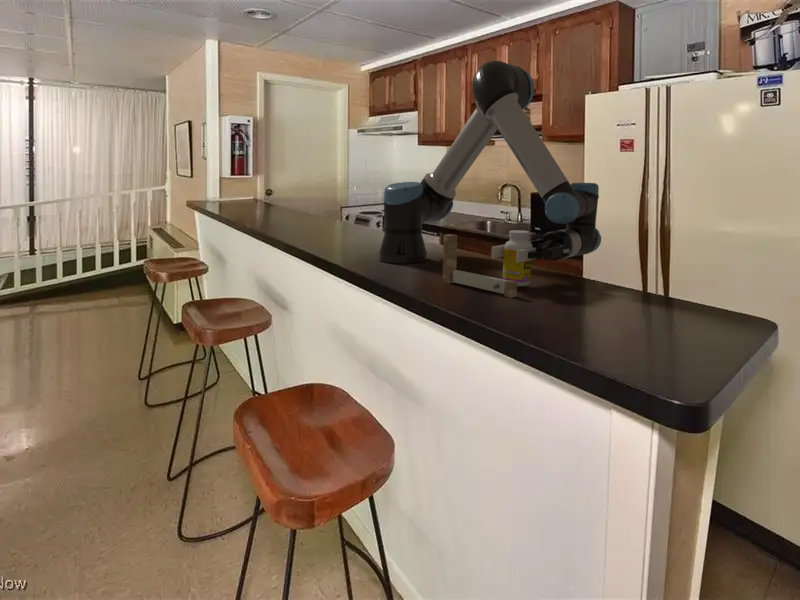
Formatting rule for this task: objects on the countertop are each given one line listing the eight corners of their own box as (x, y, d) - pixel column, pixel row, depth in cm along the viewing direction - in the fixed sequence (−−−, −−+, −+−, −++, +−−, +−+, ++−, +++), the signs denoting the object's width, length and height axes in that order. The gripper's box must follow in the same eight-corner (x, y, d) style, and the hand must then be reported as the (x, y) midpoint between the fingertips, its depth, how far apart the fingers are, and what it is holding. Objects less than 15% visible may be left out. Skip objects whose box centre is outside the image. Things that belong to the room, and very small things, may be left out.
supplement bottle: (524, 288, 126) (528, 233, 123) (498, 284, 130) (501, 231, 126) (533, 282, 132) (537, 230, 129) (508, 279, 135) (510, 228, 132)
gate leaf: (450, 282, 134) (450, 270, 133) (456, 281, 135) (456, 269, 135) (501, 294, 122) (502, 281, 121) (507, 293, 124) (508, 280, 123)
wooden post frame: (442, 281, 136) (443, 235, 133) (449, 280, 138) (450, 234, 135) (510, 297, 121) (513, 245, 118) (516, 296, 122) (520, 244, 119)
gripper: (592, 264, 134) (539, 276, 119) (527, 253, 148) (472, 264, 134) (595, 234, 132) (541, 243, 117) (529, 226, 146) (473, 234, 132)
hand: (504, 254), depth 126 cm, fingers closed on supplement bottle, 7 cm apart
